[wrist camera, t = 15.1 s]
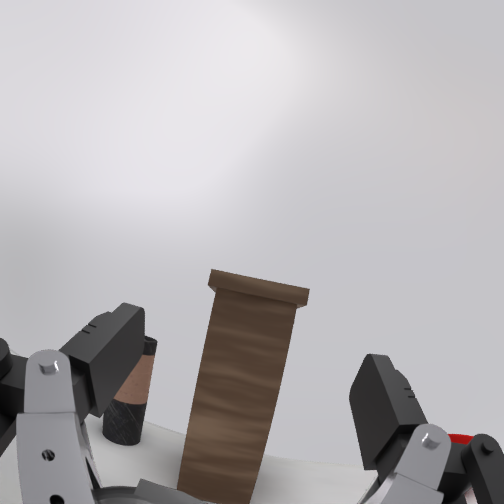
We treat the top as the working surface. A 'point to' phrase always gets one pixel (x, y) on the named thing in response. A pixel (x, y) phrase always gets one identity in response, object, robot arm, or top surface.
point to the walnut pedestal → (237, 386)
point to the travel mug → (131, 401)
